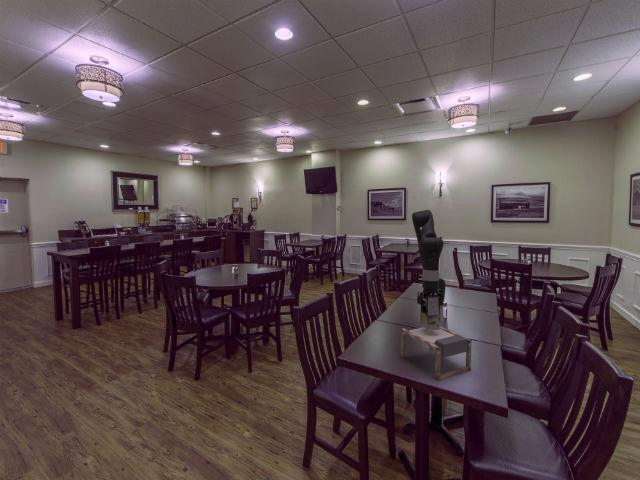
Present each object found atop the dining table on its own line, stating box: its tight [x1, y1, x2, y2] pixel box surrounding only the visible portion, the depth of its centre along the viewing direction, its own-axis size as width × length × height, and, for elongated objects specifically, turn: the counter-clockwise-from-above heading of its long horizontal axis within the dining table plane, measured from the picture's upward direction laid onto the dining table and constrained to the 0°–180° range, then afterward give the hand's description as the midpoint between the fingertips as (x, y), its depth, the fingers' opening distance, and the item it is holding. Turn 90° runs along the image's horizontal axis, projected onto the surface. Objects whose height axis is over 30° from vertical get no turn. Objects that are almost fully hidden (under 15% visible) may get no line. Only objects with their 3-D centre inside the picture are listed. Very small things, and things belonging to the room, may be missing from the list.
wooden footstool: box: [400, 326, 473, 381], centre depth 146 cm, size 24×20×14 cm
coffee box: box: [419, 295, 440, 330], centre depth 148 cm, size 9×6×16 cm
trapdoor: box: [408, 327, 467, 359], centre depth 144 cm, size 22×16×6 cm
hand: (429, 311), depth 148 cm, fingers closed on coffee box, 7 cm apart
